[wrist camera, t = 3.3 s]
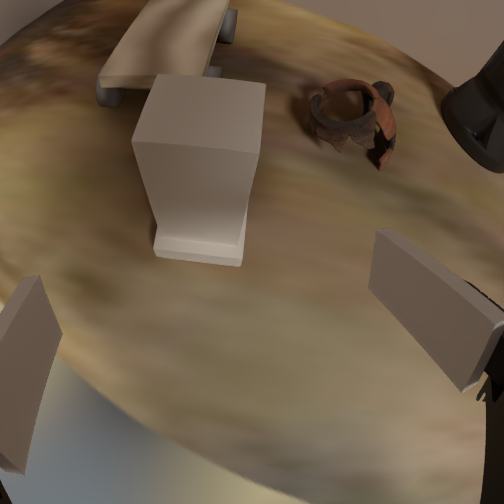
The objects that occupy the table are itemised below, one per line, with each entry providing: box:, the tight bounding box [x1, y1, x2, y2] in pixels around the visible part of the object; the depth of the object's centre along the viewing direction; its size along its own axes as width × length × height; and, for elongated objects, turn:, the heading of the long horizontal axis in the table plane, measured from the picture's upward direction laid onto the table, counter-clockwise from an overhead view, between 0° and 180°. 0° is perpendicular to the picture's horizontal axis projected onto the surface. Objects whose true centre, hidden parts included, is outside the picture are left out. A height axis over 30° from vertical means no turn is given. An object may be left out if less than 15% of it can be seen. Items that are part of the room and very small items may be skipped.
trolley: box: [96, 0, 238, 107], centre depth 25 cm, size 13×20×19 cm, turn 175°
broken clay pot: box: [309, 79, 396, 171], centre depth 32 cm, size 12×10×8 cm
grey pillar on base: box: [131, 74, 266, 267], centre depth 21 cm, size 7×7×14 cm
